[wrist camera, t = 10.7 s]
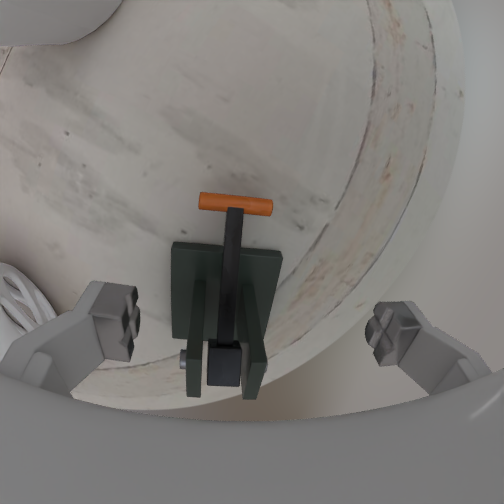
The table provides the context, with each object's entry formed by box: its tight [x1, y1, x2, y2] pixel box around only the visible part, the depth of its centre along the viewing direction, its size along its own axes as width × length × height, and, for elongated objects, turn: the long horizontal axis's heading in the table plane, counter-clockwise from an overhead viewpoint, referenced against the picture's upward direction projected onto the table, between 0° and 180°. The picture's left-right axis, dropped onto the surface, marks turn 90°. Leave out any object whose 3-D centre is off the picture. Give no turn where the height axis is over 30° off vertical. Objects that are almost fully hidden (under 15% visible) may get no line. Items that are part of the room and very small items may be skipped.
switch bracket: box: [171, 242, 283, 400], centre depth 21 cm, size 10×9×10 cm
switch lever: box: [198, 192, 273, 387], centre depth 19 cm, size 13×5×2 cm
